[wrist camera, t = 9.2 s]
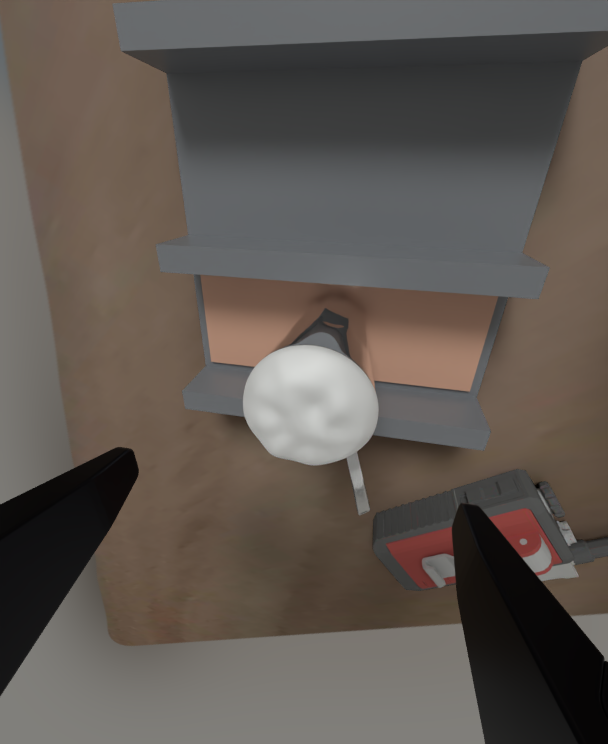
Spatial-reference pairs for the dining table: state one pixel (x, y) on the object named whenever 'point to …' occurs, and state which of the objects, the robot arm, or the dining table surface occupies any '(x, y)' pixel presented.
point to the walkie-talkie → (504, 508)
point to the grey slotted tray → (363, 179)
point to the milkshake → (317, 391)
